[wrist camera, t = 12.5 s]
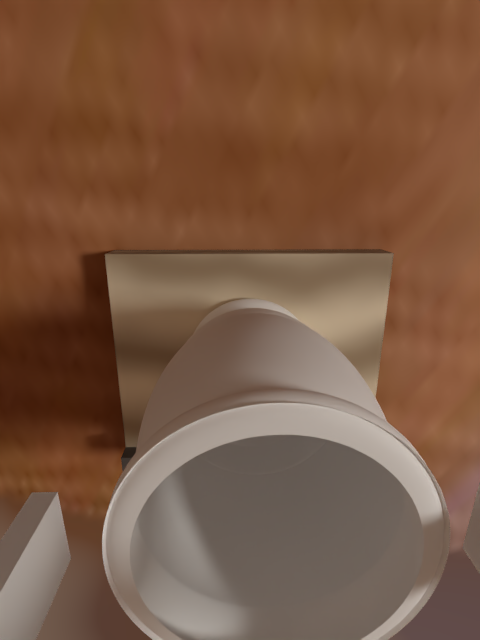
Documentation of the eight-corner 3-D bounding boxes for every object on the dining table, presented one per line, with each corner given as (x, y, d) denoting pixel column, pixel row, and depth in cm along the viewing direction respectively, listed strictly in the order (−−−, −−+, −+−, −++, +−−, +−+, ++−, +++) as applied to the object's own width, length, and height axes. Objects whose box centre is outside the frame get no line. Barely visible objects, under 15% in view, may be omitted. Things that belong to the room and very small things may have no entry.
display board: (114, 250, 25) (98, 256, 22) (381, 249, 25) (402, 255, 22) (134, 446, 29) (123, 474, 26) (358, 442, 30) (373, 469, 27)
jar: (344, 396, 26) (483, 629, 12) (210, 443, 27) (188, 713, 13) (297, 256, 23) (408, 344, 9) (147, 315, 24) (25, 480, 10)
